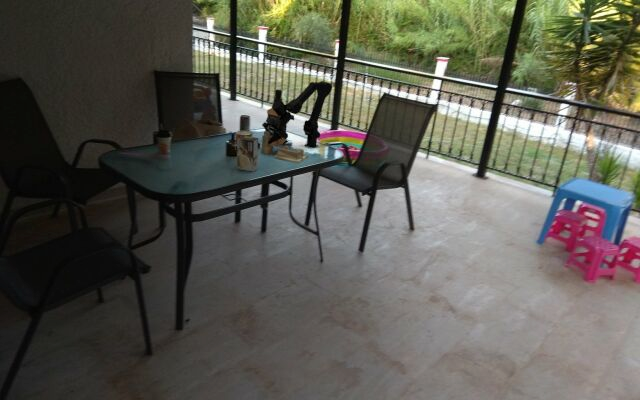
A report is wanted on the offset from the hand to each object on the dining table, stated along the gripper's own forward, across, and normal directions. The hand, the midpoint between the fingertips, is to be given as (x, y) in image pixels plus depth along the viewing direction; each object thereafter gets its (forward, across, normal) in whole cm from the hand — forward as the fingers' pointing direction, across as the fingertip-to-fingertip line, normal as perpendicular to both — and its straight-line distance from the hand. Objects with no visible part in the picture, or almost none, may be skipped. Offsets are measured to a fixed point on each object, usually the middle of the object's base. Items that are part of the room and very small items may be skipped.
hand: (265, 142), depth 253 cm
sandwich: (-2, +12, +11) cm, 17 cm away
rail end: (+4, 0, +6) cm, 7 cm away
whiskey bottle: (-8, -15, +17) cm, 24 cm away
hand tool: (+4, -19, +6) cm, 20 cm away
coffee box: (+21, +17, -11) cm, 29 cm away
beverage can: (+13, -4, -3) cm, 14 cm away
